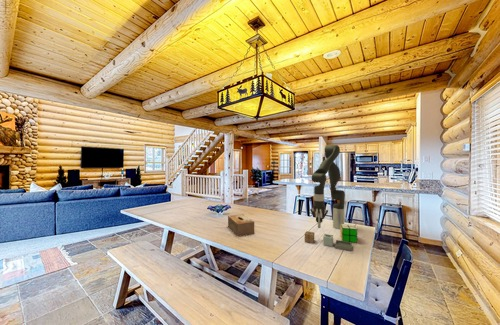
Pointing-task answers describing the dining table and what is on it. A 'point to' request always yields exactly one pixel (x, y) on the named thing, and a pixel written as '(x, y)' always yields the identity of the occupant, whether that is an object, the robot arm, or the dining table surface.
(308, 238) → the brown cardboard cube
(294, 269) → the dining table surface
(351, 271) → the dining table surface
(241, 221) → the tissue box cover
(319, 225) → the cylinder
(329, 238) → the slate block
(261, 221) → the dining table surface
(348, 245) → the tray
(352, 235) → the puzzle cube
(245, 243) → the dining table surface
